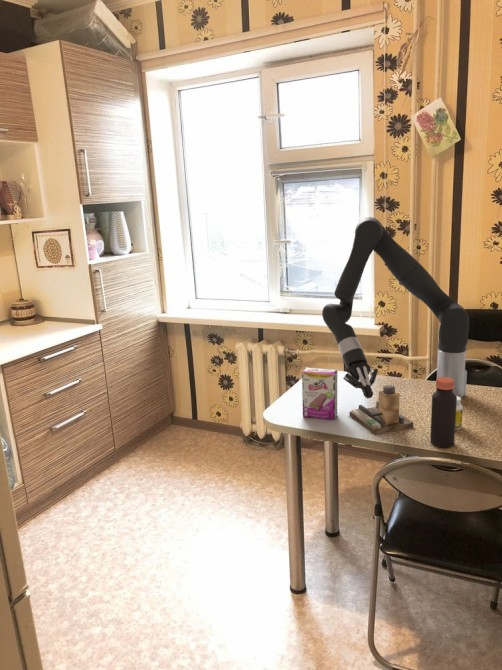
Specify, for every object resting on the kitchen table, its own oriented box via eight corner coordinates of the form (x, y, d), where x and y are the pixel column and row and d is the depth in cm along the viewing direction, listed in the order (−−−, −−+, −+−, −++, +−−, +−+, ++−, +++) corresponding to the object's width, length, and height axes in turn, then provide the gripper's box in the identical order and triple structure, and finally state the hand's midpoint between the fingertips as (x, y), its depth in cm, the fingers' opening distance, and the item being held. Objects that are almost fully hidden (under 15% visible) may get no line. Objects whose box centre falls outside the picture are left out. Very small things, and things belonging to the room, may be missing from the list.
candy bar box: (302, 417, 187) (301, 371, 183) (305, 411, 192) (304, 366, 187) (335, 420, 184) (334, 373, 179) (337, 414, 188) (337, 368, 184)
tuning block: (391, 417, 179) (392, 384, 176) (398, 422, 176) (399, 388, 173) (367, 422, 177) (367, 388, 174) (374, 427, 173) (374, 392, 170)
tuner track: (385, 408, 191) (386, 399, 190) (413, 426, 176) (413, 416, 175) (349, 415, 187) (349, 406, 186) (374, 434, 172) (374, 424, 171)
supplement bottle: (463, 430, 172) (464, 401, 169) (444, 430, 173) (446, 400, 170) (460, 423, 177) (461, 394, 174) (442, 422, 178) (443, 394, 175)
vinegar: (457, 448, 161) (461, 383, 156) (434, 448, 161) (437, 384, 156) (449, 437, 168) (453, 375, 162) (427, 438, 168) (429, 376, 163)
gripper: (338, 350, 189) (356, 395, 181) (372, 345, 193) (391, 389, 185) (331, 360, 195) (348, 405, 187) (364, 355, 199) (382, 398, 191)
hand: (369, 397), depth 186 cm, fingers closed
